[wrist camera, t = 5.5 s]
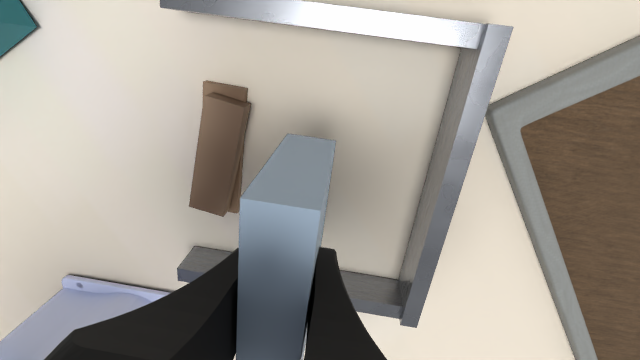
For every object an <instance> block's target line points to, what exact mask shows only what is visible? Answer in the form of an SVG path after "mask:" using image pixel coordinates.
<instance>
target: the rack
mask: <svg viewBox="0 0 640 360" xmlns="http://www.w3.org/2000/svg"><path fill="white" fill-rule="evenodd" d="M160 8H167V9H173V10H179V11H186V12H193V13H201V14H208V15H216V16H224V17H231V18H239V19H247V20H254V21H262V22H270V23H277V24H285V25H292V26H300V27H308V28H315V29H323V30H331V31H338V32H346V33H354V34H361V35H369V36H376V37H384V38H392V39H399V40H407V41H415V42H422V43H430V44H438V45H445V46H453V47H460V48H461V51H460V55H459V59H458V62H457V66H456V70H455V73H454V77H453V81H452V84H451V88H450V92H449V96H448V99H447V103H446V107H445V110H444V114H443V118H442V121H441V125H440V129H439V132H438V136H437V140H436V143H435V147H434V151H433V154H432V158H431V162H430V166H429V169H428V173H427V177H426V180H425V184H424V188H423V191H422V195H421V199H420V202H419V206H418V210H417V213H416V217H415V221H414V225H413V228H412V232H411V236H410V239H409V243H408V247H407V250H406V254H405V258H404V261H403V265H402V269H401V272H400V276H399V280H395V279H389V278H383V277H377V276H371V275H365V274H359V273H353V272H347V271H341V270H340V273H341V276H342V279H343V282H344V285H345V288H346V290H347V293H348V295H349V298H350V300H351V302H352V304H353V306H354V308H355V310H356V311H357V312H363V313H369V314H375V315H380V316H386V317H392V318H398V319H399V320H400V325H403V326H409V327H415V328H417V325H418V322H419V318H420V315H421V312H422V309H423V306H424V303H425V300H426V297H427V294H428V291H429V287H430V284H431V281H432V278H433V275H434V272H435V269H436V266H437V263H438V260H439V256H440V253H441V250H442V247H443V244H444V241H445V238H446V235H447V232H448V229H449V225H450V222H451V219H452V216H453V213H454V210H455V207H456V204H457V201H458V198H459V194H460V191H461V188H462V185H463V182H464V179H465V176H466V173H467V170H468V166H469V163H470V160H471V157H472V154H473V151H474V148H475V145H476V142H477V139H478V135H479V132H480V129H481V126H482V123H483V120H484V117H485V114H486V111H487V108H488V104H489V101H490V98H491V95H492V92H493V89H494V86H495V83H496V80H497V77H498V73H499V70H500V67H501V64H502V61H503V58H504V55H505V52H506V49H507V45H508V42H509V39H510V36H511V33H512V30H513V27H512V26H504V25H496V24H480V23H472V22H464V21H457V20H449V19H441V18H433V17H425V16H417V15H409V14H401V13H394V12H386V11H378V10H370V9H362V8H354V7H346V6H338V5H331V4H323V3H315V2H307V1H299V0H160ZM231 253H233V252H227V251H221V250H215V249H210V248H204V247H198V246H194V248H193V249H192V250H191V251H190V253H189V254H188V255H187V256H186V258H185V259H184V260H183V261H182V263H181V264H180V265H179V267H178V268H177V274H178V281H184V282H189V283H190V282H192V281H194V280H195V279H197V278H198V277H200V276H201V275H203V274H204V273H206V272H207V271H209V270H210V269H211V268H213V267H214V266H216V265H217V264H218V263H220V262H221V261H222V260H224V259H225V258H226V257H228V256H229V255H230V254H231Z"/></svg>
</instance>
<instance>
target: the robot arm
mask: <svg viewBox="0 0 640 360" xmlns="http://www.w3.org/2000/svg"><path fill="white" fill-rule="evenodd" d="M238 260H239V248H237V249H236V250H235V251H234V252H233V253H231V254H230V255H229V256H228V257H226V258H225V259H224V260H222V261H221V262H220V263H218V264H217V265H216V266H214V267H213V268H211V269H210V270H209V271H207V272H206V273H204V274H203V275H201V276H200V277H198V278H197V279H195V280H194V281H192V282H190V283H189V284H187V285H185V286H183V287H182V288H180V289H178V290H176V291H174V292H172V293H169V292H163V291H157V290H152V289H146V288H140V287H134V286H129V285H123V284H117V283H112V282H106V281H100V280H94V279H89V278H83V277H77V276H72V275H67V276H65V277H64V278H63V279H62V285H63V289H62V290H60V291H59V292H58V293H57V294H56V295H54V296H53V297H52V298H51V299H50V300H49V301H47V302H46V303H45V304H44V305H43V306H41V307H40V308H39V309H38V310H37V311H36V312H34V313H33V314H32V315H31V316H30V317H28V318H27V319H26V320H25V321H24V322H22V323H21V324H20V325H19V326H18V327H17V328H15V329H14V330H13V331H12V332H11V333H9V334H8V335H7V336H6V337H5V338H4V339H2V340H1V341H0V360H233V359H234V356H235V354H236V340H237V300H238ZM304 360H387V359H386V358H385V356H384V355H383V353H382V352H381V351H380V349H379V348H378V346H377V345H376V344H375V342H374V341H373V339H372V338H371V336H370V335H369V333H368V332H367V330H366V328H365V327H364V325H363V323H362V322H361V320H360V318H359V316H358V314H357V312H356V310H355V308H354V306H353V304H352V302H351V300H350V298H349V295H348V293H347V290H346V288H345V285H344V282H343V279H342V276H341V273H340V270H339V266H338V262H337V256H336V251H335V250H334V249H328V248H322V247H319V250H318V255H317V260H316V266H315V273H314V280H313V287H312V294H311V301H310V308H309V315H308V322H307V336H306V349H305V357H304Z"/></svg>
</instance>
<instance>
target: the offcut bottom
mask: <svg viewBox="0 0 640 360" xmlns="http://www.w3.org/2000/svg"><path fill="white" fill-rule="evenodd" d="M247 90H248V88H244V87H239V86H233V85H228V84H222V83H216V82H211V81H204V82H203V102H204V95H207V94H209V93H212V92H215V93H218V94H221V95H225V96H228V97H231V98H234V99H237V100H241V101H244V102H247ZM243 151H244V141H243V146H242V151H241V156H240V161H239V166H238V171H237V176H236V181H235V186H234V191H233V196H232V201H231V206H230V209H229V210H228V211H227V212H232V213H238V211H239V210H240V196H241V181H242V166H243Z"/></svg>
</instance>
